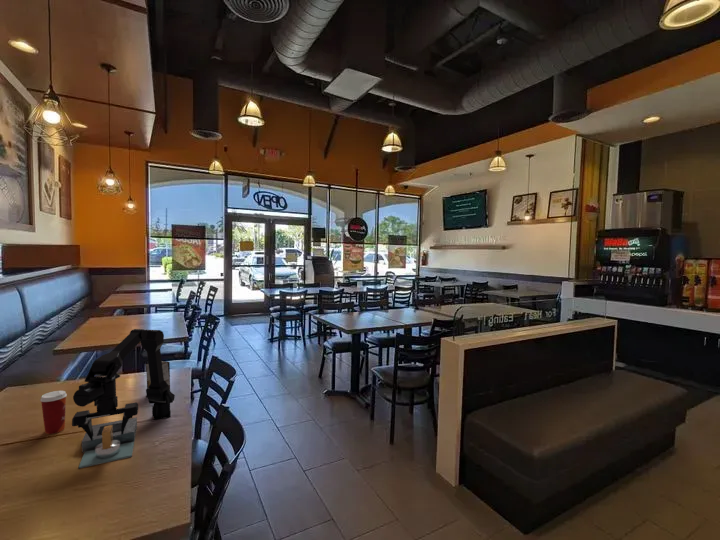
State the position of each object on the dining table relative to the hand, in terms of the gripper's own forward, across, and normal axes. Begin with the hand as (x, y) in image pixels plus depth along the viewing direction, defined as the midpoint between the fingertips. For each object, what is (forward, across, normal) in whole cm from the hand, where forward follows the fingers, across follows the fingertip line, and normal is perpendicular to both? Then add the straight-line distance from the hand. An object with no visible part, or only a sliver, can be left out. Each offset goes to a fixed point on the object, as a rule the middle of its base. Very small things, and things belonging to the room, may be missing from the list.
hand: (107, 437), depth 127 cm
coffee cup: (+7, +22, -30) cm, 38 cm away
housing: (+7, 0, -12) cm, 14 cm away
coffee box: (+7, -14, -53) cm, 56 cm away
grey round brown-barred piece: (+6, 0, 0) cm, 6 cm away
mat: (+7, 0, 0) cm, 7 cm away
